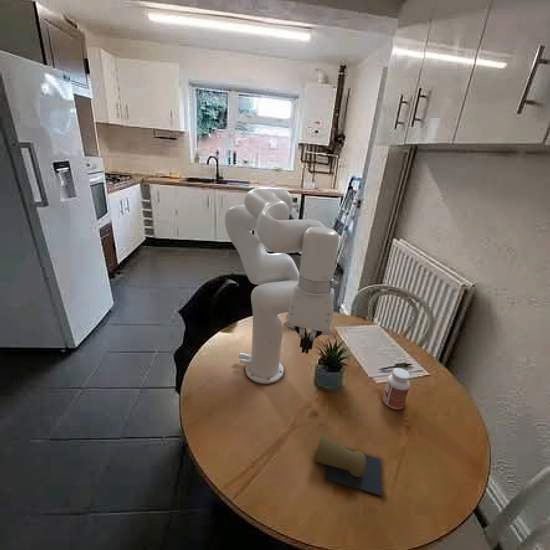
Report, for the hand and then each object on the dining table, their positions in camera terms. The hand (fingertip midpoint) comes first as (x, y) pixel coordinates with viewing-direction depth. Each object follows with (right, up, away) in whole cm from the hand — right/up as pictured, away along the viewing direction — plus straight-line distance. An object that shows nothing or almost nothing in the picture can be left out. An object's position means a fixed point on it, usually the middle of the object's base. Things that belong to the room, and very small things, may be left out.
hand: (305, 349), depth 77 cm
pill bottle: (+28, -20, +18) cm, 39 cm away
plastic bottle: (0, -3, +54) cm, 54 cm away
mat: (+11, -27, -4) cm, 30 cm away
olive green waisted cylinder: (+3, -23, -2) cm, 23 cm away
